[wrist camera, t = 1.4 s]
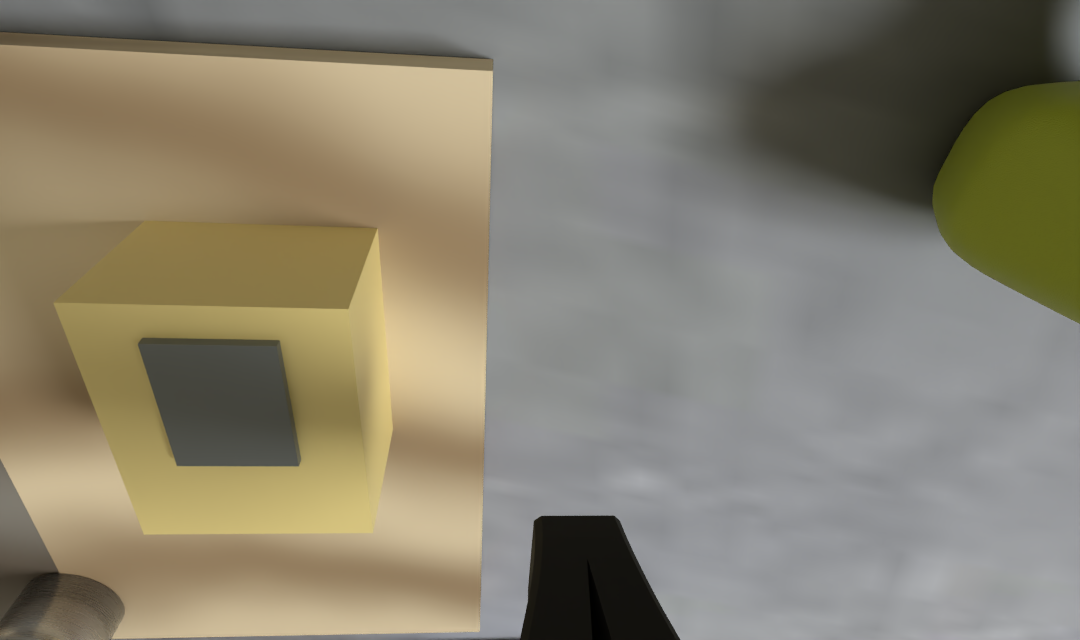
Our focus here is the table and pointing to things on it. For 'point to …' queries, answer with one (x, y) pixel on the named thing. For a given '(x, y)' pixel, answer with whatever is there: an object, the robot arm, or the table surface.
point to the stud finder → (239, 375)
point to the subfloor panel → (247, 198)
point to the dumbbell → (1019, 193)
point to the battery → (63, 610)
